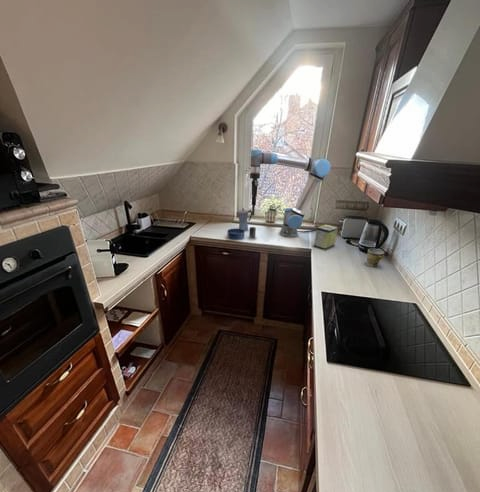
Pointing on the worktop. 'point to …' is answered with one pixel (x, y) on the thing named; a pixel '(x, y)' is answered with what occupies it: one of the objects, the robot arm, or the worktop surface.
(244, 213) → the moka pot
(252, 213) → the cooking stick
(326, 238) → the protein box
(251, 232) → the crock
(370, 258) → the ceramic cup
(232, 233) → the bowl
